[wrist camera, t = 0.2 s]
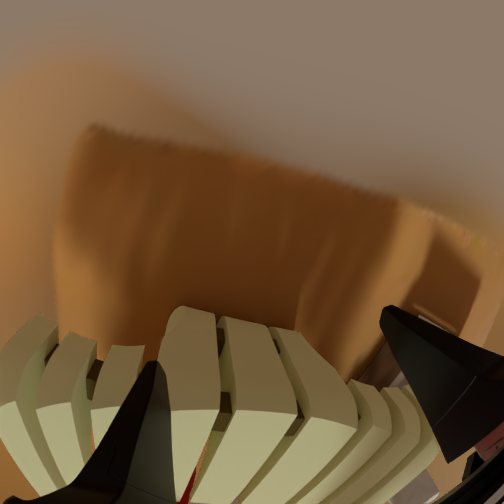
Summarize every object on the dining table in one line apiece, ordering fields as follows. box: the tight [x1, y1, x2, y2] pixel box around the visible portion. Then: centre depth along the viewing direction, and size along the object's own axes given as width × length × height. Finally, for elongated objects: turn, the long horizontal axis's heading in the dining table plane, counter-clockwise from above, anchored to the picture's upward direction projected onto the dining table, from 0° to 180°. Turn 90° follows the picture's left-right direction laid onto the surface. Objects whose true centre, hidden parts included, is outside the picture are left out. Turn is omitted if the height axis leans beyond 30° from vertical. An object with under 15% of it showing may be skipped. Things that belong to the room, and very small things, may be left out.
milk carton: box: [388, 469, 440, 504], centre depth 30 cm, size 9×9×20 cm
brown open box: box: [358, 341, 409, 393], centre depth 29 cm, size 17×18×8 cm
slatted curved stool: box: [0, 306, 441, 504], centre depth 19 cm, size 30×16×18 cm, turn 71°
